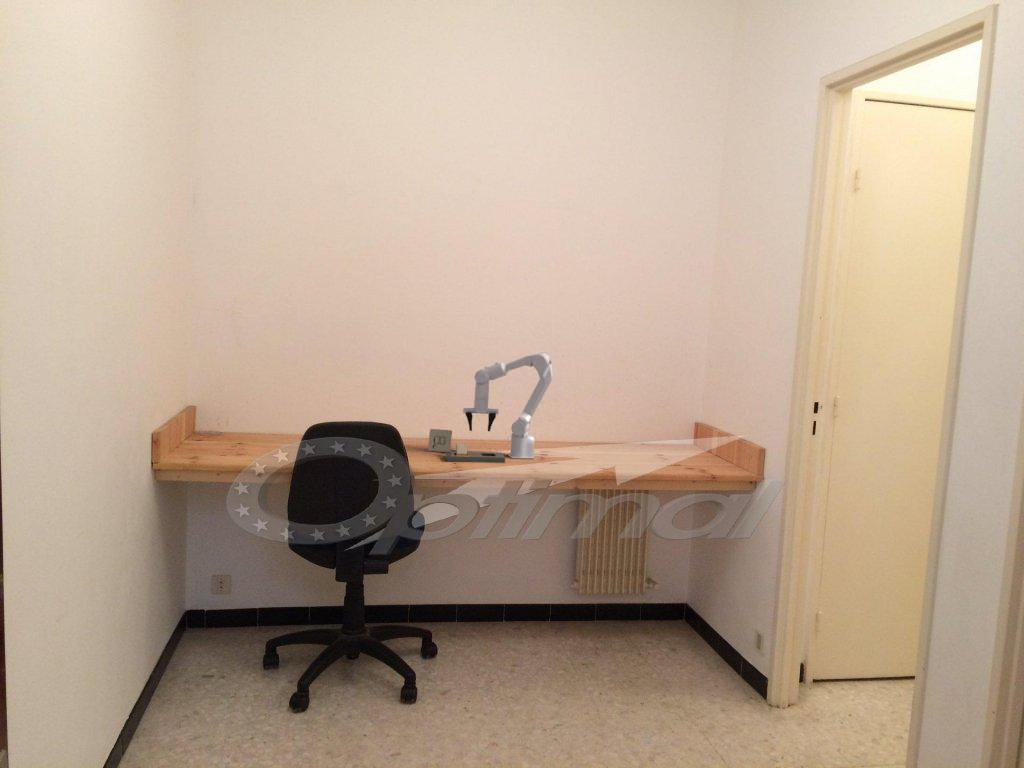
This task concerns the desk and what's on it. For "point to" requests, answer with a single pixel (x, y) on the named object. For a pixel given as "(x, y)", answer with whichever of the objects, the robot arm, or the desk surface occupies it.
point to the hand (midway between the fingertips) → (479, 430)
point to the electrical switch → (440, 440)
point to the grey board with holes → (475, 457)
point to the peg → (461, 449)
